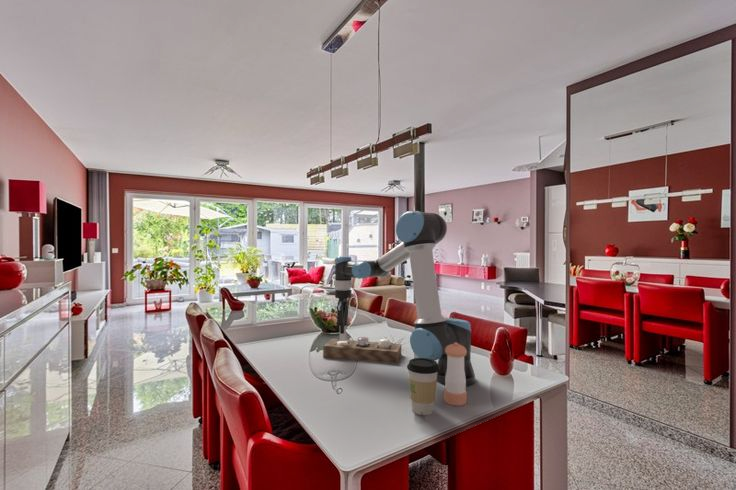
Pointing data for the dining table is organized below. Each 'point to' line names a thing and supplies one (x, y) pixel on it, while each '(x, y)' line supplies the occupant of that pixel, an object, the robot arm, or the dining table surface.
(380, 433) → the dining table surface
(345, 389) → the dining table surface
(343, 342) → the left knob
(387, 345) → the right knob
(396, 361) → the block
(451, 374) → the salt shaker
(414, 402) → the coffee cup
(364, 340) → the pot dial
